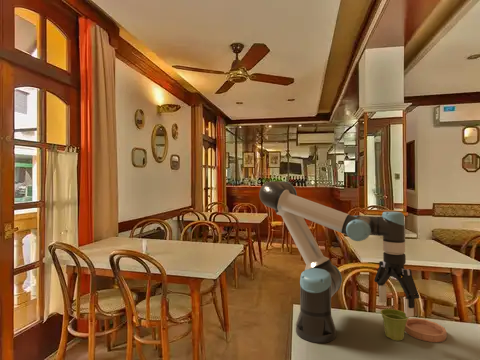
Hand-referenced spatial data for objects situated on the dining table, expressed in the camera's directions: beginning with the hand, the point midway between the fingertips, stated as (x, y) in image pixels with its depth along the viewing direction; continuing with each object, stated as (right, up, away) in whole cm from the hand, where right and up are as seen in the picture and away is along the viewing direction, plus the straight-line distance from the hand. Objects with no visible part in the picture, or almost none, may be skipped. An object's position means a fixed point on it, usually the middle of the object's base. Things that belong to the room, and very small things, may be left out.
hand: (395, 308), depth 111 cm
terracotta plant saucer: (+13, -11, +3) cm, 17 cm away
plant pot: (0, -11, 0) cm, 11 cm away
